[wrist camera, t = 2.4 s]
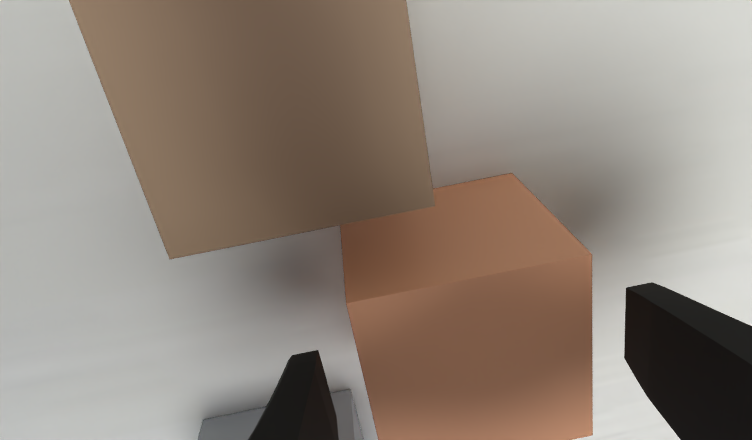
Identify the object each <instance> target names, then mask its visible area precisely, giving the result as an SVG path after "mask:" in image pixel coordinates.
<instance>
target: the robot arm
mask: <svg viewBox="0 0 752 440" xmlns="http://www.w3.org/2000/svg"><path fill="white" fill-rule="evenodd" d="M624 358H625V360H626V362H627V363H628V365H629V367H630V369H631V370H632V372H633V374H634V376H635V377H636V379H637V381H638V382H639V384H640V386H641V387H642V389H643V390H644V392H645V394H646V395H647V397H648V398H649V399H650V401H651V402H652V403H653V405H654V406H655V407H656V409H657V410H658V411H659V412H660V414H661V415H662V416H663V418H664V419H665V420H666V421H667V423H668V424H669V425H670V427H671V428H672V429H673V430H674V432H675V433H676V434H677V435H678V437H679V438H680V439H681V440H752V326H750V325H748V324H746V323H743V322H741V321H739V320H736V319H734V318H732V317H730V316H727V315H725V314H723V313H721V312H718V311H716V310H714V309H712V308H710V307H707V306H705V305H703V304H701V303H699V302H696V301H694V300H692V299H690V298H688V297H685V296H683V295H681V294H679V293H676V292H674V291H672V290H670V289H667V288H665V287H663V286H660V285H657V284H655V283H647V284H642V285H637V286H632V287H627V288H626V312H625V354H624ZM248 440H339V437H338V425H337V416H336V412H335V409H334V405H333V402H332V398H331V394H330V391H329V387H328V384H327V380H326V377H325V373H324V369H323V366H322V362H321V359H320V355H319V352H318V350H316V351H311V352H306V353H301V354H296V355H292V356H291V358H290V359H289V360H288V362H287V365H286V367H285V369H284V371H283V374H282V376H281V378H280V380H279V382H278V384H277V386H276V388H275V390H274V393H273V395H272V397H271V399H270V401H269V402H268V404H267V406H266V408H265V410H264V412H263V414H262V416H261V417H260V419H259V421H258V423H257V425H256V427H255V429H254V430H253V432H252V434H251V435H250V437H249V439H248Z"/></svg>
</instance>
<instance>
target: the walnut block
mask: <svg viewBox="0 0 752 440" xmlns="http://www.w3.org/2000/svg"><path fill="white" fill-rule="evenodd" d="M69 2H70V4H71V7H72V10H73V12H74V15H75V17H76V20H77V22H78V25H79V28H80V30H81V33H82V35H83V38H84V40H85V43H86V46H87V48H88V51H89V53H90V56H91V58H92V61H93V64H94V66H95V69H96V71H97V74H98V76H99V79H100V82H101V84H102V87H103V89H104V92H105V94H106V97H107V100H108V102H109V105H110V107H111V110H112V112H113V115H114V118H115V120H116V123H117V125H118V128H119V130H120V133H121V136H122V138H123V141H124V143H125V146H126V148H127V151H128V154H129V156H130V159H131V161H132V164H133V166H134V169H135V172H136V174H137V177H138V179H139V182H140V184H141V187H142V190H143V192H144V195H145V197H146V200H147V202H148V205H149V208H150V210H151V213H152V215H153V218H154V220H155V223H156V226H157V228H158V231H159V233H160V236H161V238H162V241H163V243H164V246H165V249H166V251H167V254H168V256H169V259H174V258H179V257H184V256H189V255H194V254H199V253H204V252H209V251H214V250H219V249H224V248H229V247H234V246H239V245H244V244H249V243H254V242H259V241H264V240H269V239H274V238H279V237H284V236H289V235H294V234H299V233H304V232H309V231H314V230H319V229H323V228H328V227H333V226H338V225H343V224H348V223H353V222H358V221H363V220H368V219H373V218H378V217H383V216H388V215H393V214H398V213H403V212H408V211H413V210H418V209H423V208H428V207H433V206H435V201H434V194H433V187H432V180H431V173H430V166H429V159H428V152H427V145H426V138H425V130H424V123H423V116H422V109H421V102H420V95H419V88H418V81H417V74H416V67H415V60H414V53H413V46H412V39H411V32H410V25H409V17H408V10H407V3H406V0H69Z"/></svg>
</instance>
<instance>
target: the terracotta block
mask: <svg viewBox="0 0 752 440" xmlns="http://www.w3.org/2000/svg"><path fill="white" fill-rule="evenodd" d="M433 194H434V201H435V206H433V207H428V208H423V209H418V210H413V211H408V212H403V213H398V214H393V215H388V216H383V217H378V218H373V219H368V220H363V221H358V222H353V223H348V224H343V225H340V229H341V242H342V255H343V268H344V282H345V295H346V305H347V309H348V313H349V318H350V322H351V326H352V330H353V335H354V339H355V343H356V347H357V351H358V356H359V360H360V364H361V368H362V373H363V377H364V381H365V385H366V390H367V394H368V398H369V402H370V406H371V411H372V415H373V419H374V423H375V428H376V432H377V436H378V440H572V439H577V438H582V437H587V436H591V435H593V421H592V254H591V253H590V252H589V251H588V250H587V249H586V248H585V247H584V246H583V244H582V243H581V242H580V241H579V240H578V239H577V238H576V237H575V236H574V235H573V234H572V233H571V232H570V231H569V230H568V229H567V228H566V227H565V226H564V225H563V224H562V223H561V222H560V221H559V220H558V219H557V218H556V217H555V216H554V215H553V214H552V213H551V212H550V211H549V210H548V209H547V208H546V207H545V206H544V205H543V204H542V203H541V202H540V201H539V200H538V199H537V198H536V197H535V196H534V195H533V194H532V193H531V192H530V191H529V190H528V189H527V188H526V187H525V186H524V185H523V184H522V183H521V182H520V181H519V180H518V179H517V178H516V177H515V176H514V175H513V174H512V173H509V174H504V175H499V176H494V177H489V178H484V179H479V180H474V181H469V182H464V183H459V184H454V185H449V186H444V187H439V188H434V189H433Z"/></svg>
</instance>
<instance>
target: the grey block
mask: <svg viewBox="0 0 752 440" xmlns="http://www.w3.org/2000/svg"><path fill="white" fill-rule="evenodd" d="M330 394H331V398H332V402H333V405H334V409H335V412H336V416H337V425H338V437H339V440H364V438H363V435H362V431H361V427H360V423H359V419H358V415H357V412H356V408H355V404H354V400H353V396H352V392H351V389H348V390H344V391H339V392H334V393H330ZM265 408H266V407H262V408H258V409H253V410H248V411H243V412H239V413H234V414H229V415H224V416H219V417H215V418H210V419H205V420H203V421H202V425H201V429H200V433H199V436H198V440H248V439H249V437H250V435H251V434H252V432H253V430H254V429H255V427H256V425H257V423H258V421H259V419H260V417H261V416H262V414H263V412H264V410H265Z"/></svg>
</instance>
